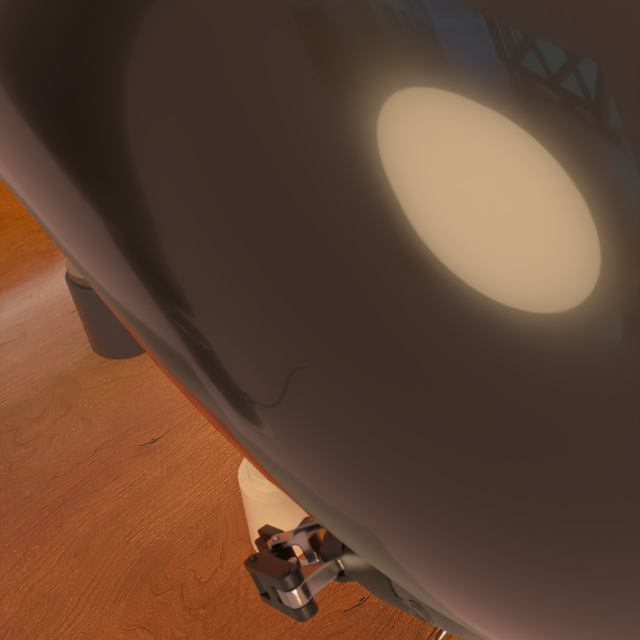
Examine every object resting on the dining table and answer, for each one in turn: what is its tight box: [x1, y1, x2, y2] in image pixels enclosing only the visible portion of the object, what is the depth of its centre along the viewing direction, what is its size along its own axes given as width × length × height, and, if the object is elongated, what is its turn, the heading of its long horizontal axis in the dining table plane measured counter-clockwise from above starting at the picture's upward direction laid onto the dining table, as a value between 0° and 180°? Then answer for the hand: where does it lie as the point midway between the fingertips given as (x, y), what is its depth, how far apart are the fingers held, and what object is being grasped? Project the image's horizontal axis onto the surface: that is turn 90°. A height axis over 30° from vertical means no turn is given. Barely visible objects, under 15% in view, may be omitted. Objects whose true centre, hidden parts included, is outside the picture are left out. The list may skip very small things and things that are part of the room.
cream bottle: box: [237, 457, 309, 557], centre depth 49 cm, size 6×6×12 cm
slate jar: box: [64, 258, 146, 360], centre depth 71 cm, size 9×9×12 cm
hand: (318, 505), depth 42 cm, fingers open, 8 cm apart
